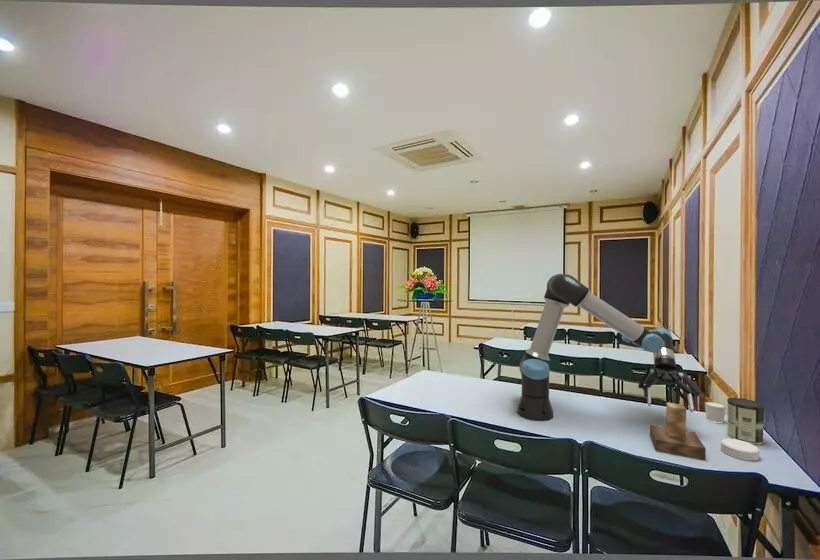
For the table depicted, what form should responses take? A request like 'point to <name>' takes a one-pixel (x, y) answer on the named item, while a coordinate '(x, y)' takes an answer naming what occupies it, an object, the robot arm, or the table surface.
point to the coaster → (740, 449)
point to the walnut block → (677, 443)
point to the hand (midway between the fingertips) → (670, 407)
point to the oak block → (676, 421)
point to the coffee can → (745, 420)
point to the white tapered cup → (715, 411)
